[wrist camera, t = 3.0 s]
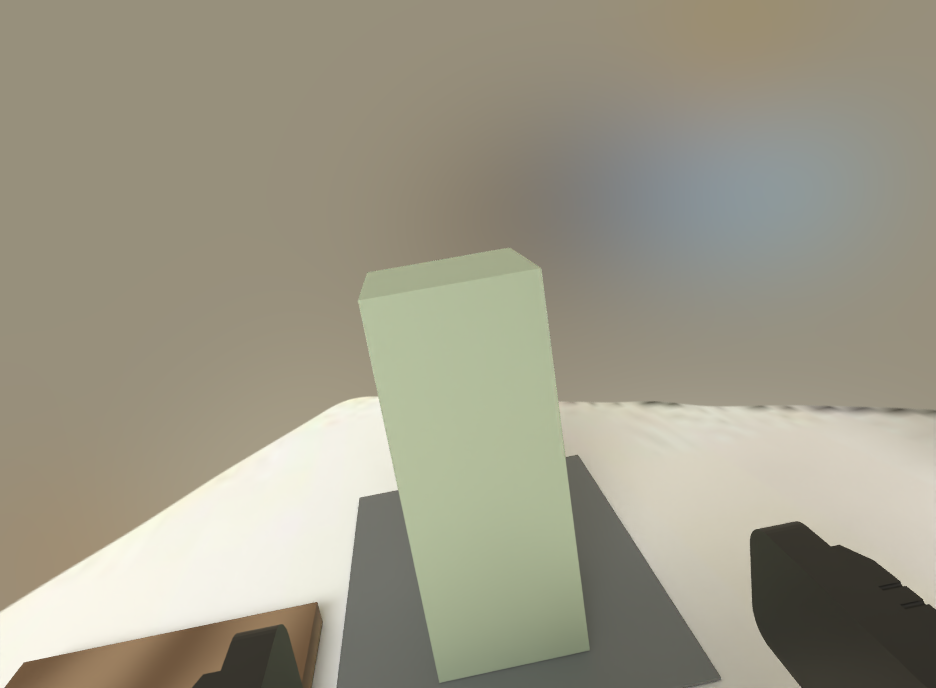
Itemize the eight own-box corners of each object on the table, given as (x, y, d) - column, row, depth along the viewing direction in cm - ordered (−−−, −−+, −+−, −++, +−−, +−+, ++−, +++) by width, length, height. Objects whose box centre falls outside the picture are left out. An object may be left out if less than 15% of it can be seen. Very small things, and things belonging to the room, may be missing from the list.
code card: (578, 456, 37) (577, 454, 37) (721, 679, 20) (720, 676, 20) (360, 499, 36) (359, 497, 36) (327, 767, 20) (327, 763, 20)
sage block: (553, 559, 28) (509, 247, 24) (590, 650, 22) (541, 268, 19) (431, 584, 27) (367, 272, 24) (439, 683, 22) (358, 300, 18)
